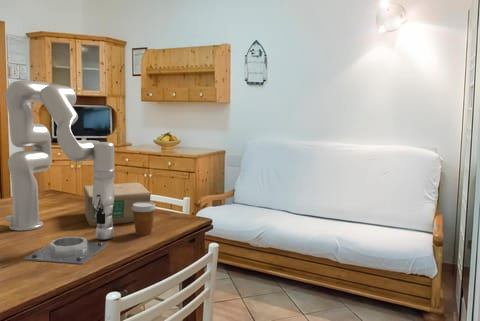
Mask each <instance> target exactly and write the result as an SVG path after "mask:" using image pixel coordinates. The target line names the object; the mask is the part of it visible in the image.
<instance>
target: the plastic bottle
mask: <svg viewBox="0 0 480 321" xmlns="http://www.w3.org/2000/svg"><path fill="white" fill-rule="evenodd" d="M113 204H114V200H113V198H112V197H110V198H109V199H108V202H107V205H106V206H105V211H104V213H105V224H97V226H96V227H95V228H96V229H95V237H96V239H98V240H104V241H105V240H109V239H112V238H114V237H113V236H114V234H115V230H114V224H113V222H112V211H113ZM99 205H102V203H100V204H99ZM100 208H101V209H102V207H100Z"/></svg>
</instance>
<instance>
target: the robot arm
mask: <svg viewBox="0 0 480 321" xmlns="http://www.w3.org/2000/svg"><path fill="white" fill-rule="evenodd" d="M76 102H77V95H76V92H75V91H74V89H73V88H72V87H70V86H67V85H62V84H56V83H52V82H48V81H47V82H46V81H38V80H28V79H27V80H26V79H24V80H23V79H22V80H21V79H19V80H15V81H13V82H11V83H10V84H9V85H8V87H7V88H6V91H5V103H6V108H7V111H8V121H9V122H8V123H9V134H10V141H11V144H12V145H13V146H14V147H17V148H30V147H31V149H28V150H20V151H19V150H18V151H15V152H14V153H12V154H11V155H10V156H9V157H8V160H7V166H8V169H9V170H8V171H9V174H10V180H11V198H12V201H11V202H12V215H7V216H6V217H5V219H4V221H5V222H10V224H9V226H8V228H9V230H12V231H30V230H31V231H32V230H36V229H39V228H42V227H43V225H44V221H42V220H40V213H39V211H40V210H39V184H38V181H37V178H36V176H34V173H35V174H36V173H41V172H45V171H47V170H48V169H50V167H51V166H52V161H53V156H52V138H51V133H50V130H49V129H48V127H47V126H45V125H44V124H42V123H34V119H33V118H34V117H33V112H32V110H31V107H30V106H29V105H28V103H42V104H43V106H44V107H45V108H46V110H47V111H48V113H49V115H50V116H51V118H52V119H53V121H54V123H55V124H56V126H57V127H56V138H57V139H56V140H57V143H58V146H59V147H60V149H61V150H62V153H63V154H65V155H64V156H66V157H67V158H68V159H69V160H70V161H72V162H75V163H78V162H79V163H80V162H85V161H93V182H92V183H93V184H92V185H93V196H92V204H93V205H94V208H95V210H96V214H97V224H105V213H104V211H105V206H106V205H107V202H108V199H109V198H110V197H112V198H113V200H114V195H115V194H114V184H115V181H114V180H115V176H116V175H115V171H116V170H115V169H116V168H115V145H114V143H113V142H111V141H110V142H109V141H98V140H94V139H93V140H92V139H89V140H79V141H78V140H77V139H76V137H75V136H74V134H73V132H72V129H71V128H72V127H71V126H73V125H74V124H75V123H76V122H77V121H78V119H79V116H78V113H77V111H76V110H75V108H74V107H73V106H74V105H75V104H76ZM100 203H102V205H99V204H100ZM100 207H102V209H101V208H100ZM112 219H113V212H112Z"/></svg>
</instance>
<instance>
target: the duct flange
mask: <svg viewBox="0 0 480 321" xmlns="http://www.w3.org/2000/svg"><path fill="white" fill-rule="evenodd" d="M108 246H109V242H103V241H102V242H101V241H99V242H98V241H88V239H87V238H86V237H83V236H76V235H75V236H74V235H72V236H63V237H60V238H55V239H53V240H51V241H50V242H49V244H47V245H45V246H43V247H41V248H39V249H38V250H36V251H35V252H33V253H31V254H29V255H27V256H25V257H24V261H33V262H34V261H35V262H48V263H49V262H51V263H61V264H62V263H64V264H76V265H77V264H79V265H83V264H84V263H86V262H87V261H88V260H90V259H91V258H92V257H94V256H95V255H96V254H98V253H100V251H102V250H103V249H104V248H106V247H108Z"/></svg>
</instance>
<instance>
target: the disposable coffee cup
mask: <svg viewBox="0 0 480 321" xmlns="http://www.w3.org/2000/svg"><path fill="white" fill-rule="evenodd" d="M156 208H157V206H156V203H154V202H152V201H150V202H138V203H134V204H133V206H132V210H133V215H134V229H135V234H136V235H137V236H149V235H152V233H153V226H154V218H155V211H156Z"/></svg>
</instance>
